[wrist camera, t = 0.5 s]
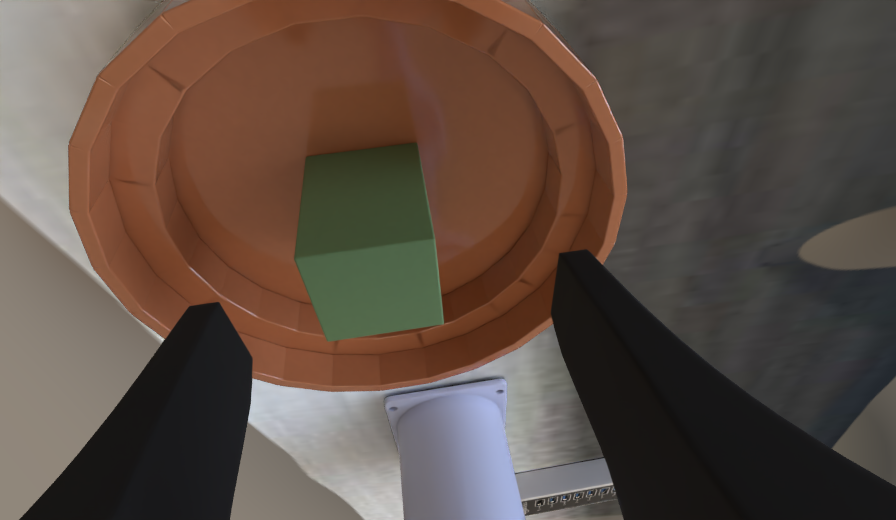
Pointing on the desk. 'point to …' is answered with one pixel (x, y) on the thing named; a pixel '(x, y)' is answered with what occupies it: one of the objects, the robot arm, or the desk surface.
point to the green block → (368, 242)
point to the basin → (339, 130)
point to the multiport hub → (565, 486)
